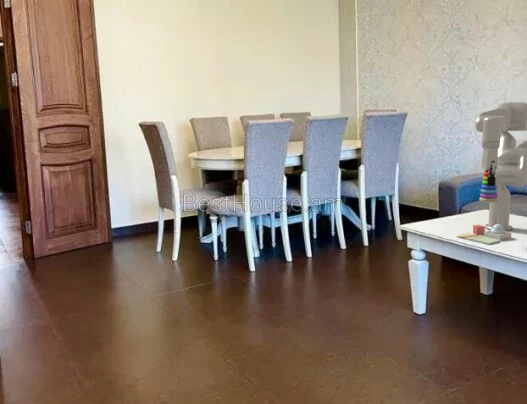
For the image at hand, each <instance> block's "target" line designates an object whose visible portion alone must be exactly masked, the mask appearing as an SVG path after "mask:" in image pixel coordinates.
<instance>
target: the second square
mask: <svg viewBox="0 0 527 404" xmlns="http://www.w3.org/2000/svg"><path fill="white" fill-rule="evenodd" d="M501 241H502V240H498V239H493V238H489V237H481V238H477V239H473V241H472V242H475V243H480V244H484V245H489V246H490V245H493V244H497V243H501Z"/></svg>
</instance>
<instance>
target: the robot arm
mask: <svg viewBox="0 0 527 404" xmlns="http://www.w3.org/2000/svg"><path fill="white" fill-rule="evenodd" d="M475 129H476V131H477V132H479V133H482V142H481V145H482V146H481V148H482V150H483V151H482V159H481V169H482V170H484V172H485V171H487V170H488V178H487V185H488V186H495V185H497V188H496V189H497V194H498V197H497V198H498V201H497V202H494V203H488V204H489V211H488V223H486V224H485V225H484V226H485V229H487V230H489V231H490V230H491V228H493V226H494V225H495V224H500V225H502V226H503V229H505V231H507V232H508V231H511V230H513V225H511V224H510V214H511V212H510V209H511V191H509V189H508V187H507V186H510V187H512V186H513V187H523V186H525V185H526V184H527V148H523V147H522V148H521V147H517V140H516V138H515V136H513V134H511V133H510V132H525V131H526V132H527V103H526V102H523V101H520V102H517V101H515V102H514V101H513V102H512V101H511V102H503V103H501V104H499V105H498V106H497V107H496V108H495V109H491V110H488V111H484V112H481V113H480V114H479V115H478V116H477V118H476V119H475ZM490 169H492V170H490ZM495 173H496V175H495ZM484 176H485V175H484V174H483V177H484ZM495 177H496V180H495ZM495 181H496V182H497V183H496V184H495Z"/></svg>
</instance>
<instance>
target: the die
mask: <svg viewBox="0 0 527 404" xmlns="http://www.w3.org/2000/svg"><path fill="white" fill-rule="evenodd" d="M485 231H486V228H485V225H483V224H473V225H472V234H475V235H480V236H484V232H485Z"/></svg>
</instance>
